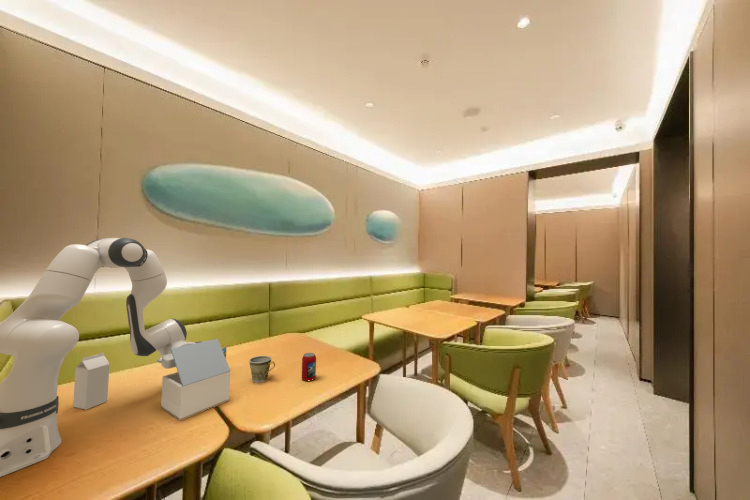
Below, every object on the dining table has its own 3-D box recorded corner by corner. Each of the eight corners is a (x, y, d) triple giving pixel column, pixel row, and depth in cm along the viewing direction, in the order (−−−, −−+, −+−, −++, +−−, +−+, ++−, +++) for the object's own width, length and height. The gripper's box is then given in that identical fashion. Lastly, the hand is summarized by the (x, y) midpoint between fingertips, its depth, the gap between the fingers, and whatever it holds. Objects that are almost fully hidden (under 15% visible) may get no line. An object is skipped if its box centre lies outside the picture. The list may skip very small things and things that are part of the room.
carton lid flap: (170, 349, 109) (171, 348, 108) (217, 339, 123) (217, 338, 123) (182, 386, 102) (183, 385, 102) (229, 371, 117) (230, 370, 117)
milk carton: (107, 401, 114) (110, 353, 115) (85, 410, 107) (88, 359, 108) (95, 398, 116) (98, 351, 117) (72, 407, 109) (76, 357, 110)
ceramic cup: (243, 382, 134) (244, 361, 134) (257, 374, 144) (258, 354, 144) (268, 386, 131) (268, 364, 131) (280, 377, 141) (280, 357, 141)
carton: (159, 408, 110) (161, 376, 110) (209, 390, 126) (210, 362, 126) (178, 421, 101) (180, 387, 102) (230, 400, 117) (231, 370, 118)
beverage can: (312, 382, 136) (312, 357, 136) (299, 381, 137) (299, 356, 138) (317, 377, 142) (318, 352, 143) (305, 375, 144) (305, 351, 144)
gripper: (155, 351, 112) (172, 359, 105) (208, 340, 129) (225, 346, 122) (154, 368, 112) (171, 376, 105) (207, 354, 129) (225, 360, 122)
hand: (201, 360), depth 114 cm, fingers closed, pressing on carton lid flap
